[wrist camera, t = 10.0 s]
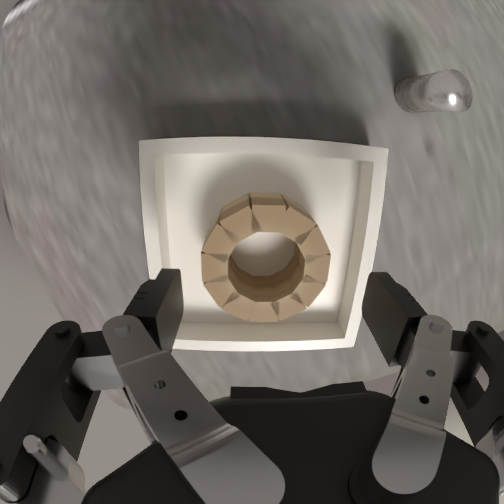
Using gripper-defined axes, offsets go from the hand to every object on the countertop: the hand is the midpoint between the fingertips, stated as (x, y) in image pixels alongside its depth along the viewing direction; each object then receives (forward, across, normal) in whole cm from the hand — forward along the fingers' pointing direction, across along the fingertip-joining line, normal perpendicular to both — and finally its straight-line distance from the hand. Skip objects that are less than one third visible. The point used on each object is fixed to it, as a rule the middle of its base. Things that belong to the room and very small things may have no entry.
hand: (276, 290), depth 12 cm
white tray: (+6, 0, 0) cm, 6 cm away
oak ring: (+6, 0, 0) cm, 6 cm away
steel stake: (+6, -9, -10) cm, 14 cm away
